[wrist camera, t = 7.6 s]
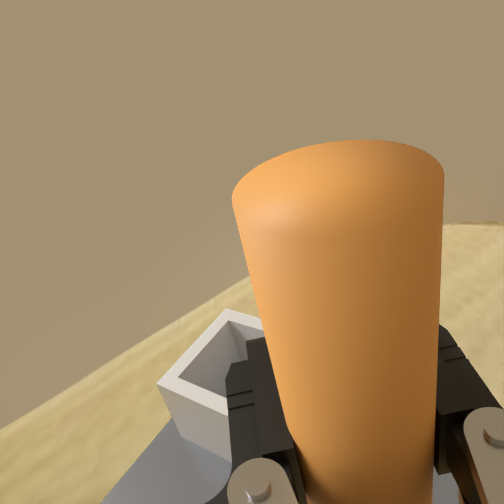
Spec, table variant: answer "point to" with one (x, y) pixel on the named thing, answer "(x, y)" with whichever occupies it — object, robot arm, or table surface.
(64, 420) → the table surface
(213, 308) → the table surface
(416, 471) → the rod
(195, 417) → the case
